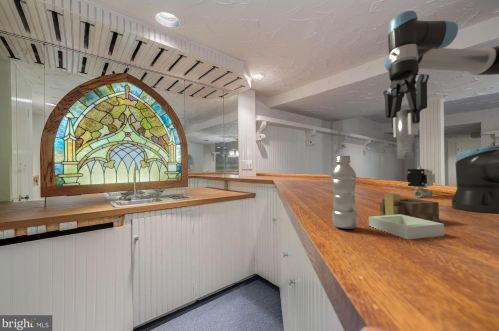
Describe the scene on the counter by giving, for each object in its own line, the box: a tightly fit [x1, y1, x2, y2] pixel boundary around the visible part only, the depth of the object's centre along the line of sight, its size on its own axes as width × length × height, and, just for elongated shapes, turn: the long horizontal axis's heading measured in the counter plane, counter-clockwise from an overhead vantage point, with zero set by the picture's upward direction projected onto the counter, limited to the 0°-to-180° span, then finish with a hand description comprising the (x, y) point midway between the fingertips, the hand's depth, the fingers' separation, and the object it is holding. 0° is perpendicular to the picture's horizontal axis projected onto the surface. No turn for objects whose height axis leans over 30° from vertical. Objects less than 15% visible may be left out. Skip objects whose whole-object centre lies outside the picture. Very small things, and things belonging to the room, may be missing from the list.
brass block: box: [383, 192, 401, 215], centre depth 62 cm, size 2×3×8 cm
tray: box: [368, 214, 445, 240], centre depth 52 cm, size 11×11×3 cm
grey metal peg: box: [396, 109, 416, 160], centre depth 64 cm, size 4×4×15 cm
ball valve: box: [406, 165, 436, 198], centre depth 112 cm, size 18×8×18 cm, turn 124°
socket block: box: [379, 197, 440, 223], centre depth 63 cm, size 13×10×6 cm
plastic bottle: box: [330, 155, 359, 230], centre depth 55 cm, size 6×7×20 cm
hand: (405, 135), depth 64 cm, fingers closed on grey metal peg, 4 cm apart
